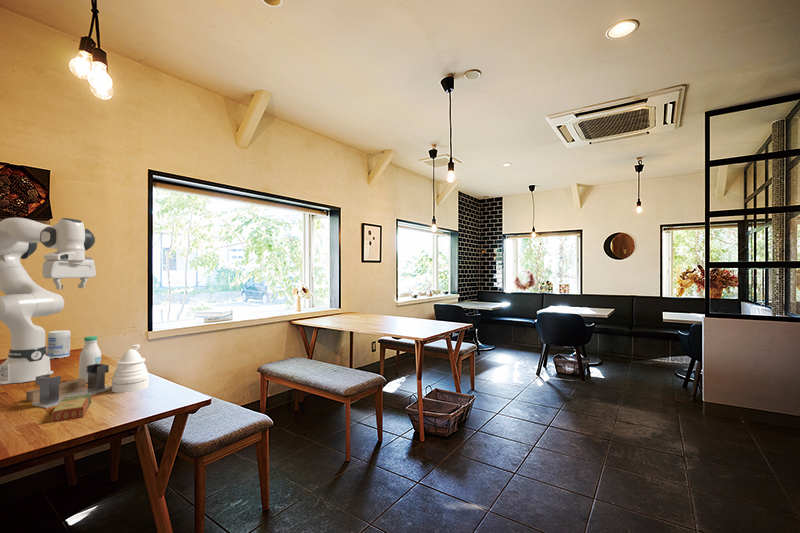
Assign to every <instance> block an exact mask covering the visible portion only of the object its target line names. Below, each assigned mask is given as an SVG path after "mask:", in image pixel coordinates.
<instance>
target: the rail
mask: <svg viewBox="0 0 800 533" xmlns="http://www.w3.org/2000/svg"><path fill="white" fill-rule="evenodd" d="M85 388H87V383H86V379H81V378H79V377H78V378H75V379H71V380H70V379H69V380H67V381H64V382H61V383H60V384H59V395H63V394H66V393H70V392H74V391H78V390H81V389H85ZM25 394H26V395H25V397H26V398H25V399H26V400H25V401H26V402H30V403H33V402H37V401H40V387H38V388H35V389H30V390H27V391H26V392H25Z"/></svg>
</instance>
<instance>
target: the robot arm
mask: <svg viewBox="0 0 800 533" xmlns="http://www.w3.org/2000/svg"><path fill="white" fill-rule="evenodd" d="M95 237H96V236H95V235H94V234H93V232H92V231H91V230H90V229H88V228H85V225H84V222H83V221H82V220H81V219H74V218H68V217H62V218H59V220H58V221H57V223H56V224H54V225H49V224H46V223H42V222H38V221H37V220H32V219H29V218H24V217H8V218H4V219H2V220H1V221H0V292H1V293H3V294H4V295H1V296H0V321H1V322H2V323H4V324H5V326H7V328H8V331H9V333H10V349H8V354H7V355H8V356H7V357H8V358H7V359H6V360H4V361H3V362H2V363H1V364H0V385H9V384H18V383H26V382H27V383H28V382H34V381H36V377H37V376H41V375H46V374H50V375H53V374H54V370H51V359H49V357H48V356H47V345H46V330H45V328H43V327H42V326H40V325H37V324H34V323H33V321H32V318H38V317H39V318H40V317H48V316H51V315H55V314H58V313H60V312H62V311H63V309H64V307H65V299H64V298H63V297H62V295H60V294H59V293H55V292H52V291H50V290H48V289H45V288H44V287H42V286H40V285H39V284H37V282H35V281H34V280H33V278H32V277H31V276H30V275H29V273H28V272H27V270H26V268H25V267H24V266H23V264H22V262H21V260H26V259H28V258H29V256H32V255H33V254H34V253H35V252H36V251H37V249H38V243H41V244H42V245H43V246H44V247H45V248H47V249H48V248H49V249H54V250H55V249H56V250H57V251H54V252H51V253H46V254H44V255H43V260H45V261H44V262H43V264H42V277H43V278H44V279H52V282H53V284H54V285H55V290H64V285H63V284H61V280H62V279H70V278H71V279H79V280H80V282H79V283H78V284H77V288H78V289H85V288H86V287H85V285H86V283H87V282H88V278H95V277H96V276H97V273H96V264H95V259H94V258H92V257H91V256H86V251H88V250H90V249H91V248H92V247H93V246H94V244H95V242H96V238H95Z"/></svg>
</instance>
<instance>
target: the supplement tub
mask: <svg viewBox="0 0 800 533" xmlns="http://www.w3.org/2000/svg"><path fill="white" fill-rule="evenodd" d="M71 335H72V334H71V330H68V329H64V330H62V329H60V330H52V331H48V333H47V342H46V344H47V345H46V348H47V353H46V356H48V357H49V359H50V360H55V359H54V358H59V359H65V358H69V357H70V355H71V340H72V339H71ZM64 357H65V358H64Z"/></svg>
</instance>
